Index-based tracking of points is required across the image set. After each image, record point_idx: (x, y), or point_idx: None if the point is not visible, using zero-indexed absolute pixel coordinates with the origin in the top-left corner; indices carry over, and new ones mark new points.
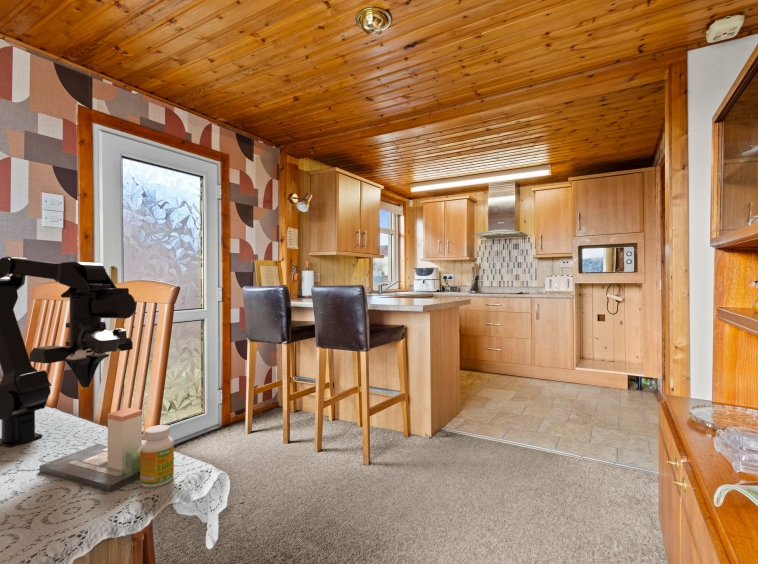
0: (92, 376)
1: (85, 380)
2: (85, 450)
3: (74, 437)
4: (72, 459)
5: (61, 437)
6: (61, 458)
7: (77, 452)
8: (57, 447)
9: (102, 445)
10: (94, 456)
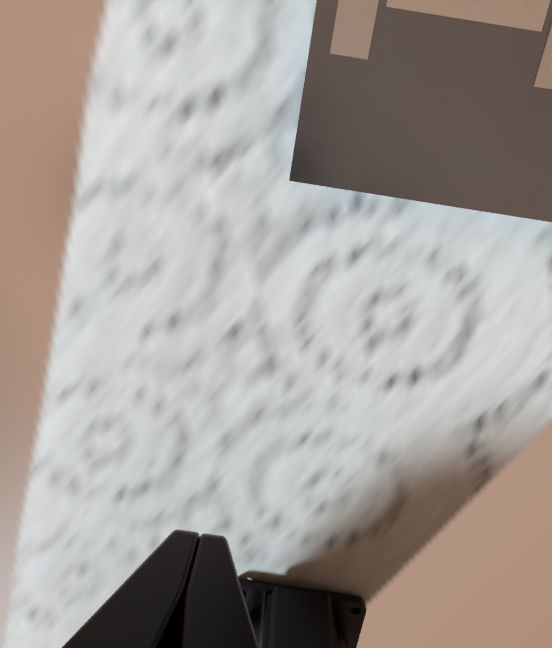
0: (95, 629)
1: (226, 610)
2: (386, 167)
3: (191, 447)
4: (517, 117)
5: (210, 503)
6: (507, 201)
7: (420, 188)
8: (314, 414)
9: (302, 127)
10: (465, 8)
